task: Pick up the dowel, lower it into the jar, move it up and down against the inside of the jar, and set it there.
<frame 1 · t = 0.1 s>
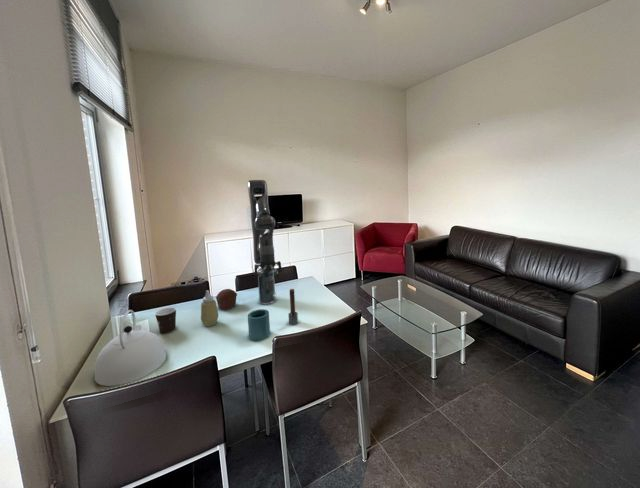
hand: (268, 281, 166), 17 cm above the table, tool pointing down, fingers open, 8 cm apart
kettle: (133, 364, 122), on the table
muffin: (227, 307, 174), on the table
jar: (259, 335, 143), on the table
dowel: (293, 322, 155), on the table
squeeze bottle: (210, 324, 154), on the table
coffee mug: (167, 331, 147), on the table
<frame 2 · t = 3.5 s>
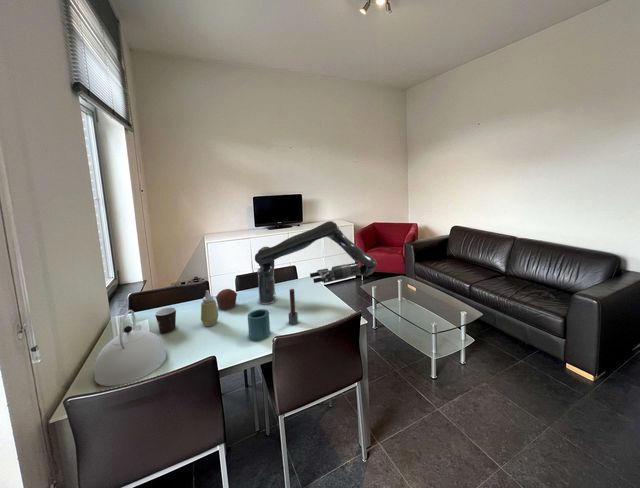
hand: (311, 278, 155), 23 cm above the table, tool horizontal, fingers open, 8 cm apart
nothing on the table moved.
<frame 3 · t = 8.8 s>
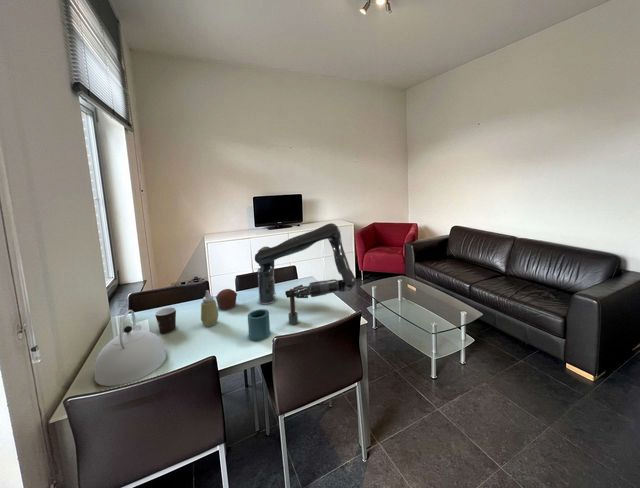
hand: (286, 294, 151), 16 cm above the table, tool horizontal, fingers closed on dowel, 2 cm apart
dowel: (293, 322, 155), on the table, touching gripper
everything else where it was.
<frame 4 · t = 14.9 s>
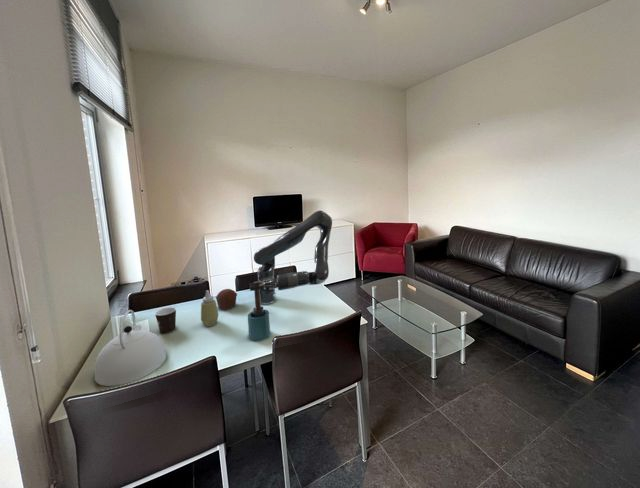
hand: (250, 287, 138), 25 cm above the table, tool horizontal, fingers closed on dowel, 2 cm apart
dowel: (259, 318, 142), point 9 cm above the table, touching gripper
everything else where it was.
when the fingers open (17 cm above the table, at t = 21.0 s): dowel stays where it is, resting on jar.
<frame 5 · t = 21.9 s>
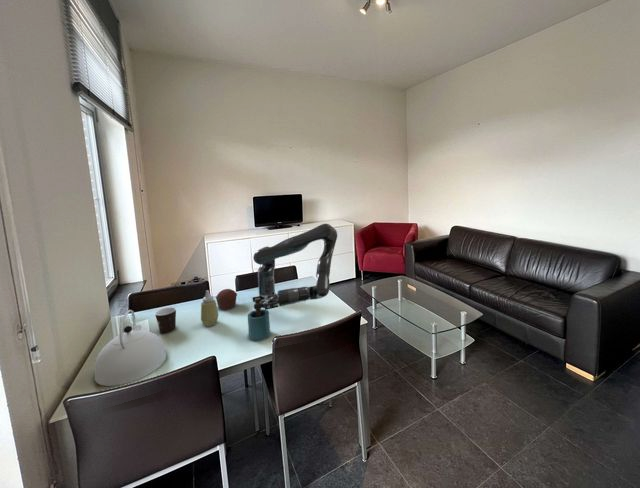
hand: (253, 303, 140), 17 cm above the table, tool horizontal, fingers open, 8 cm apart
jar: (259, 335, 143), on the table, touching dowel
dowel: (259, 334, 143), point 1 cm above the table, touching jar
everything else where it was.
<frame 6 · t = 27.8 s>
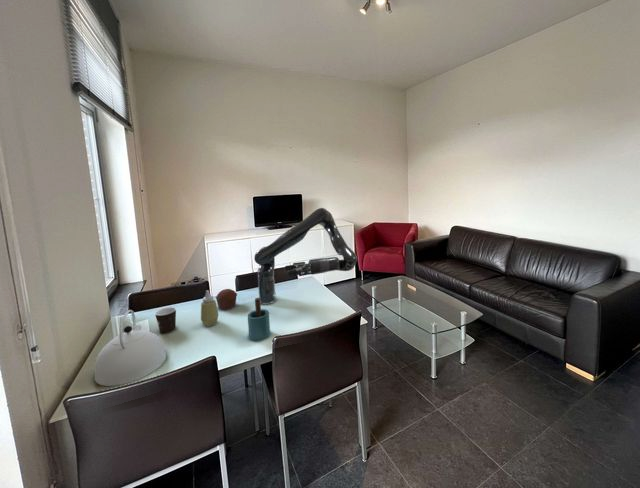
hand: (286, 270, 145), 30 cm above the table, tool horizontal, fingers open, 8 cm apart
nothing on the table moved.
at the end: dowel 0.1 cm off-centre in the jar, point 0.6 cm above the jar's base; jar tilted 0°; jar moved 0.0 cm from its start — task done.
